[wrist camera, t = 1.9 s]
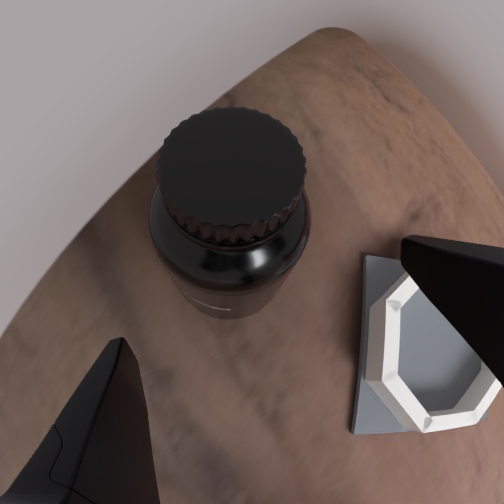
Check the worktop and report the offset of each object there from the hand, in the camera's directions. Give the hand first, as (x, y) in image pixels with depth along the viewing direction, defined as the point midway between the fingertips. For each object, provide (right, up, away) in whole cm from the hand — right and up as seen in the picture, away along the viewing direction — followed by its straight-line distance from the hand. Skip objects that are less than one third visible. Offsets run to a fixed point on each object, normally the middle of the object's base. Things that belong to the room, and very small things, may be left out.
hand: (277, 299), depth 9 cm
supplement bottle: (-2, 0, +12) cm, 12 cm away
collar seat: (+12, -5, +11) cm, 17 cm away
